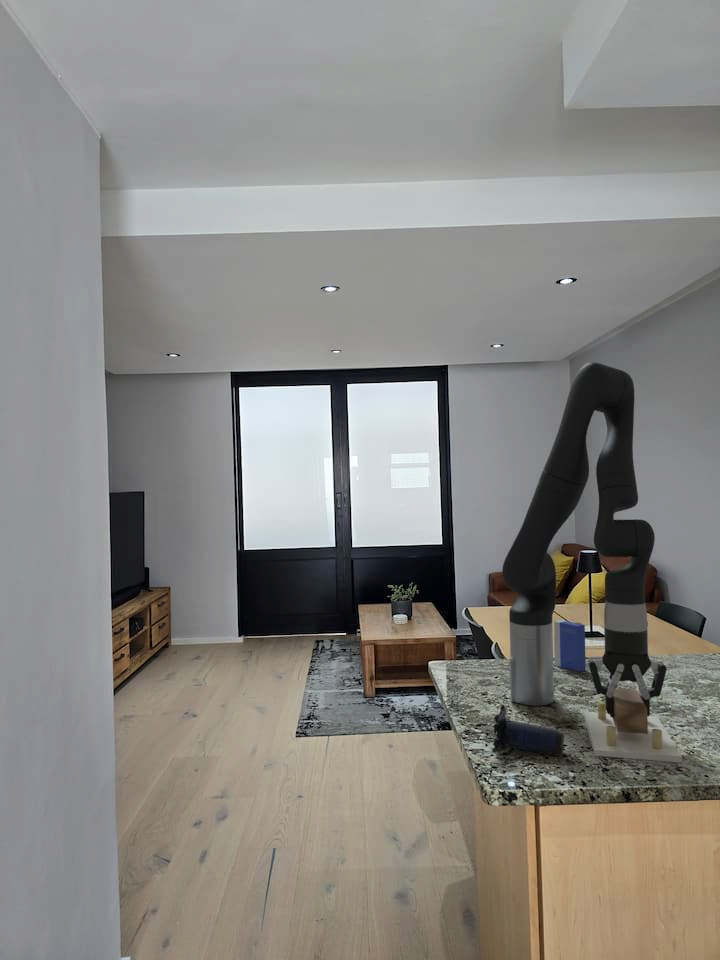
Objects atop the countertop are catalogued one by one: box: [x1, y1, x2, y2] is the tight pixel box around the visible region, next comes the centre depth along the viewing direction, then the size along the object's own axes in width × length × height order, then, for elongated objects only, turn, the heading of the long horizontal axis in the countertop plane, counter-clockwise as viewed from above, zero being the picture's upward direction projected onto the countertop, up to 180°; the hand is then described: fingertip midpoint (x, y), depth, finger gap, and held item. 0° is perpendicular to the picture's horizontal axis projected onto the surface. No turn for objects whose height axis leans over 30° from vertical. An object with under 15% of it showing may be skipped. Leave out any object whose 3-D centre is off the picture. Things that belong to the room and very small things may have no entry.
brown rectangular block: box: [612, 688, 648, 734], centre depth 122 cm, size 5×11×4 cm, turn 166°
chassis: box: [583, 701, 683, 763], centre depth 122 cm, size 14×20×4 cm
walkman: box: [553, 619, 587, 673], centre depth 170 cm, size 8×3×12 cm, turn 32°
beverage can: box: [492, 704, 565, 757], centre depth 118 cm, size 9×8×12 cm
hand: (627, 716), depth 122 cm, fingers closed on brown rectangular block, 5 cm apart
